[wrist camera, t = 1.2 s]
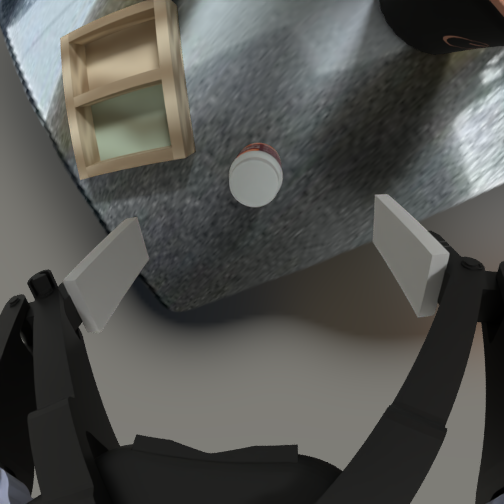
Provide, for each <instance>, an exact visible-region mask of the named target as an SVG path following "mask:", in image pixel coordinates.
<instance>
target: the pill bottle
mask: <svg viewBox="0 0 504 504" xmlns="http://www.w3.org/2000/svg"><path fill="white" fill-rule="evenodd" d="M282 181H283V172H282V166H281V160H280V157H279V155H278V153H277V152H276V150H275V149H274V148H272V147H271V146H269V145H267V144H264V143H252V144H250V145H247V146H246V147H245V148H243V149H242V150H241V152H240V153H239V154H238V155H237V157H236V159H235V160H234V161H233V163H232V164H231V166H230V170H229V186H230V190H231V193H232V195H233V196H234V198H235V199H236V200H237V201H238V202H240V203H241V204H243V205H245V206H249V207H261V206H264V205H266V204H268V203H269V202H271V201H272V200H273V199H274V197H275V196H276V194H277V192H278V191H279V189H280V187H281V185H282Z"/></svg>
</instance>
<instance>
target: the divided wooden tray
mask: <svg viewBox="0 0 504 504" xmlns="http://www.w3.org/2000/svg"><path fill="white" fill-rule="evenodd" d="M60 40H61V60H62V73H63V84H64V93H65V101H66V108H67V115H68V121H69V127H70V133H71V138H72V143H73V149H74V153H75V158H76V163H77V167H78V171H79V176H80V180H81V179H85V178H89V177H93V176H97V175H102V174H106V173H110V172H115V171H119V170H124V169H128V168H133V167H138V166H143V165H148V164H154V163H159V162H165V161H170V160H176V159H182V158H186V157H188V156H189V155H191V154H193V153H194V152H196V150H195V144H194V137H193V131H192V124H191V117H190V110H189V103H188V96H187V88H186V81H185V73H184V65H183V57H182V48H181V39H180V30H179V21H178V10H177V5H176V4H175V3H174V2H172V1H171V0H146V1H143V2H140V3H137V4H135V5H132V6H129V7H126V8H124V9H121V10H119V11H116V12H114V13H111V14H109V15H106V16H104V17H102V18H99V19H97V20H95V21H93V22H91V23H89V24H86V25H84V26H82V27H80V28H78V29H76V30H74V31H72V32H71V33H69V34H67V35H65V36H63V37H61V38H60Z"/></svg>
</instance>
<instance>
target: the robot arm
mask: <svg viewBox="0 0 504 504" xmlns="http://www.w3.org/2000/svg"><path fill="white" fill-rule="evenodd" d="M373 243H374V244H375V246H376V247H377V249H378V251H379V252H380V254H381V255H382V257H383V258H384V260H385V262H386V263H387V265H388V267H389V268H390V270H391V271H392V273H393V275H394V276H395V278H396V280H397V281H398V283H399V285H400V287H401V288H402V290H403V292H404V294H405V295H406V297H407V299H408V301H409V302H410V304H411V306H412V307H413V309H414V311H415V313H416V315H417V317H418V318H420V317H425V316H431V315H434V313H435V310H436V307H437V303H439V305H440V306H439V308H438V311H437V313H436V316H435V318H434V321H433V323H432V326H431V328H430V330H429V333H428V335H427V337H426V339H425V342H424V344H423V346H422V348H421V350H420V352H419V355H418V357H417V359H416V361H415V363H414V365H413V367H412V369H411V371H410V372H409V375H408V376H407V379H406V380H405V382H404V384H403V386H402V388H401V389H400V391H399V393H398V394H397V396H396V398H395V400H394V401H393V403H392V404H391V405H389V407H388V408H387V410H386V411H385V413H384V414H383V416H382V417H381V419H380V420H379V422H378V423H377V425H376V426H375V428H374V429H373V431H372V433H371V434H370V435H369V437H368V438H367V440H366V441H365V443H364V444H363V445H362V447H361V448H360V449H359V451H358V452H357V454H356V455H355V456H354V458H353V459H352V460H351V462H350V463H349V464H348V466H347V467H346V468H345V469H344V471H342V470H340V469H339V468H337V467H336V466H334V465H331V464H329V463H328V462H325V461H323V460H320V459H317V458H314V457H310V456H306V455H300V454H298V445H280V446H251V447H247V448H242V449H236V450H231V451H225V452H219V453H205V452H202V451H199V450H196V449H193V448H191V447H188V446H185V445H182V444H180V443H177V442H174V441H172V440H166V439H159V438H153V437H146V436H142V435H136V437H135V440H134V443H133V444H132V445H125V446H120V445H119V443H118V441H117V439H116V437H115V434H114V432H113V429H112V427H111V424H110V422H109V419H108V416H107V414H106V411H105V409H104V406H103V403H102V400H101V397H100V394H99V391H98V388H97V386H96V382H95V379H94V376H93V373H92V369H91V366H90V362H89V359H88V355H87V351H86V348H85V344H84V340H83V336H82V333H81V331H80V329H79V326H80V324H81V323H82V322H83V324H84V326H85V328H86V330H87V331H88V332H93V333H101V331H102V330H103V328H104V327H105V325H106V323H107V322H108V320H109V319H110V317H111V315H112V314H113V312H114V311H115V309H116V307H117V306H118V305H119V303H120V301H121V300H122V298H123V297H124V295H125V294H126V292H127V291H128V289H129V288H130V286H131V285H132V283H133V282H134V280H135V279H136V278H137V276H138V275H139V273H140V272H141V270H142V269H143V267H144V266H145V265H146V263H147V262H148V260H149V256H148V253H147V249H146V246H145V243H144V239H143V236H142V232H141V229H140V225H139V221H138V218H137V217H133V218H126V219H125V220H124V221H123V222H122V223H121V224H120V225H118V226H117V227H116V228H115V229H114V230H113V231H112V232H111V233H110V234H109V235H108V236H107V237H106V238H104V239H103V241H101V242H100V243H99V244H98V245H97V246H96V247H95V248H94V249H93V250H92V251H91V252H90V253H89V254H88V255H87V256H86V257H85V258H84V259H83V260H82V261H81V262H80V263H79V264H78V265H77V266H76V267H75V268H74V269H73V270H72V271H71V272H70V274H68V276H66V278H65V279H64V280H63V283H61V284H60V285H59V286H57V283H56V281H55V279H54V277H53V275H52V272H51V271H50V270H43V271H41V272H39V273H37V274H35V275H34V276H32V277H31V278H30V279H29V280H28V283H27V284H28V286H29V288H30V290H31V292H32V294H33V296H34V298H35V301H34V302H30V303H28V302H27V299H26V298H25V296H24V295H22V294H21V295H17V296H14V297H12V298H11V299H10V300H9V301H8V302H7V303H6V305H5V307H4V309H3V311H2V313H1V315H0V504H410V502H411V501H412V499H413V498H414V496H415V494H416V493H417V491H418V489H419V488H420V486H421V484H422V482H423V481H424V479H425V477H426V475H427V473H428V471H429V470H430V468H431V465H432V464H433V462H434V460H435V458H436V456H437V454H438V451H439V449H440V447H441V445H442V443H443V441H444V438H445V435H446V432H447V428H445V425H446V422H447V419H448V417H449V414H450V412H451V409H452V407H453V404H454V402H455V399H456V396H457V393H458V390H459V387H460V384H461V381H462V378H463V375H464V372H465V368H466V365H467V361H468V358H469V354H470V350H471V346H472V342H473V338H474V334H475V329H476V324H477V322H481V324H482V332H483V342H484V354H485V372H486V413H485V430H484V441H483V450H482V459H481V465H480V472H479V477H478V485H477V491H476V502H475V504H504V261H503V262H501V263H500V265H499V269H498V272H491V271H485V268H484V266H483V265H482V263H480V262H479V261H477V260H476V259H473V258H470V257H461V256H460V255H459V254H458V253H457V252H456V251H455V250H454V249H453V248H452V247H451V246H449V244H448V243H447V242H445V240H444V239H443V238H442V237H441V236H440V235H438V234H436V233H434V232H432V231H427V230H426V229H425V228H424V227H423V226H422V225H421V224H420V223H419V222H418V221H417V220H416V219H415V218H413V217H412V216H411V215H410V214H409V213H408V212H407V211H406V210H405V209H404V208H403V207H401V206H400V205H399V204H398V203H397V202H396V201H395V200H394V199H392V198H391V197H390V196H389V195H388V194H383V195H375V205H374V228H373ZM21 338H22V339H21ZM22 340H23V341H24V343H23V341H22ZM34 466H35V470H36V475H37V479H38V483H39V487H40V491H41V495H39V496H38V497H36V498H34V499H33V498H32V497H31V493H32V488H33V480H34Z"/></svg>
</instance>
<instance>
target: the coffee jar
mask: <svg viewBox="0 0 504 504" xmlns="http://www.w3.org/2000/svg"><path fill="white" fill-rule="evenodd" d="M380 6H381V11H382V13H383V15H384V17H385V19H386V21H387V23H388V24H389V26H390V27H391V28H392V29H393V31H394V32H395V33H396V35H398V36H399V37H400V38H401V39H402V40H404V41H405V42H406V43H407V44H408V45H410V46H412V47H414V48H416V49H418V50H420V51H422V52H426V53H430V54H434V55H436V54H445V53H451V52H457V51H463V50H470V49H477V48H486V47H496V46H504V0H380Z"/></svg>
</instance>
